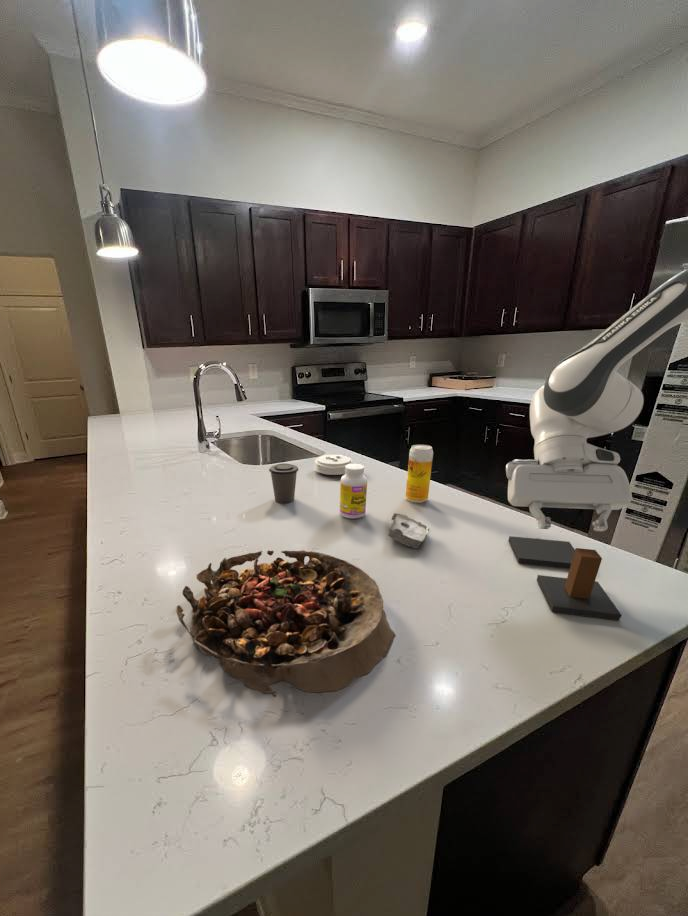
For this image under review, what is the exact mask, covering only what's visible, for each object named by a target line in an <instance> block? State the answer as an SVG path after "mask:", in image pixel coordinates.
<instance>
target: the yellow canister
mask: <svg viewBox="0 0 688 916" xmlns="http://www.w3.org/2000/svg"><path fill="white" fill-rule="evenodd" d="M433 459H434V451H433V447H432V446H431V445H429V444H413V445H411V448H410V449H409V453H408V463H407V464H408V465H407V475H406V486H405V498H406V499H407V501H408V502H410V503H415V504H423V503H425V502H426V501H427V500H428V498H429V493H430V483H431V476H432V474H431V473H432V467H433Z"/></svg>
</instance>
